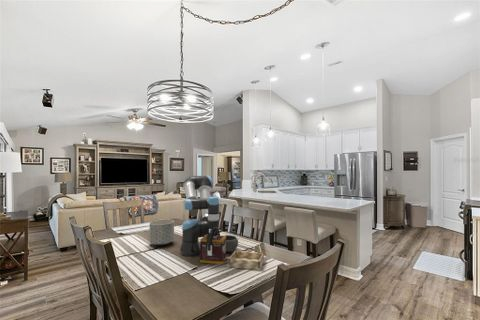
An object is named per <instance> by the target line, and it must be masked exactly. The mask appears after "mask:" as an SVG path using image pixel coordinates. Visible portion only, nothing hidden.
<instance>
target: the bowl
mask: <svg viewBox="0 0 480 320" xmlns="http://www.w3.org/2000/svg"><path fill="white" fill-rule="evenodd" d="M224 236H226V253H227V252H228V253H230V252H235V251H236V249H237V248H238V246H239V240H238V237H237V236H235V235H229V234H225V235H224Z"/></svg>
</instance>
